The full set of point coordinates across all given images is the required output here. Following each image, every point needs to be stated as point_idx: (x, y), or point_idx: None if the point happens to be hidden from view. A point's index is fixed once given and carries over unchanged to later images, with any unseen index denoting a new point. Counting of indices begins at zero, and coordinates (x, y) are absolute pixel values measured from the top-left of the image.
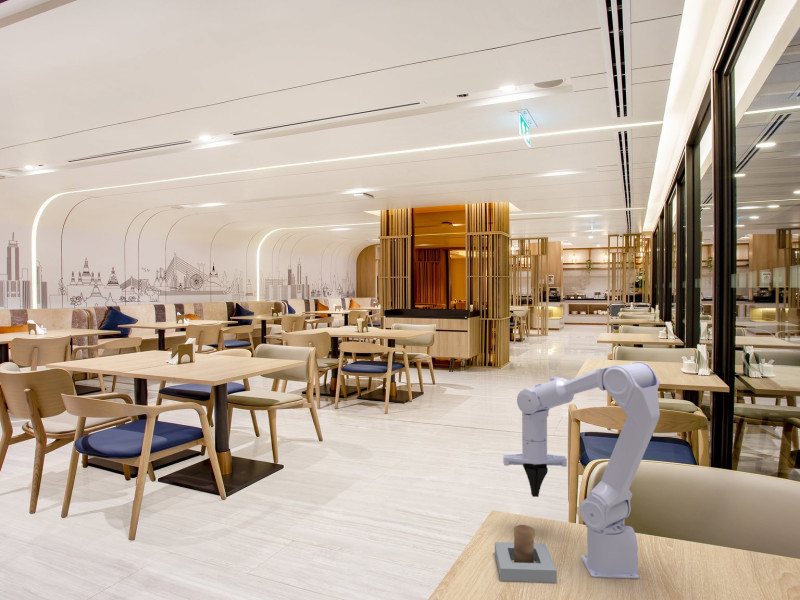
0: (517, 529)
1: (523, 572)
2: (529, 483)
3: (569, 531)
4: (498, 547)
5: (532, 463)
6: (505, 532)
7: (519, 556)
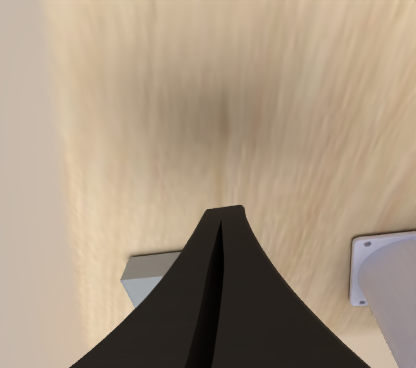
0: None
1: None
2: (183, 252)
3: (372, 66)
4: (136, 299)
5: None
6: (127, 137)
7: None
